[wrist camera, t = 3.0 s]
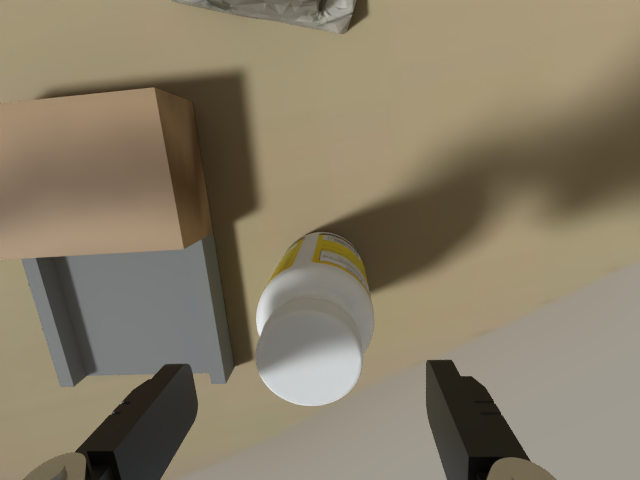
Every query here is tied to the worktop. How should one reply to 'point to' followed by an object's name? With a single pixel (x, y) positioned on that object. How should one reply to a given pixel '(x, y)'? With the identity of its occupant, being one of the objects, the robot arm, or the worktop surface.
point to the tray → (133, 312)
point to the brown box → (100, 175)
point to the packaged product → (287, 11)
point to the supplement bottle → (314, 321)
